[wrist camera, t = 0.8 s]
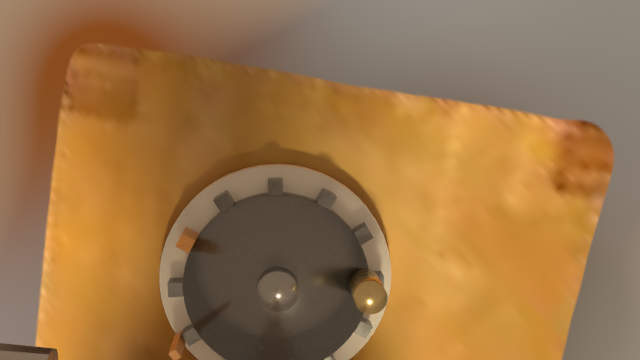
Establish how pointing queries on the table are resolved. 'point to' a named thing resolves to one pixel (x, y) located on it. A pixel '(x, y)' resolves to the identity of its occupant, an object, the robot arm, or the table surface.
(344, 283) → the sprocket
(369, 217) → the sprocket base
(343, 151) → the table surface
